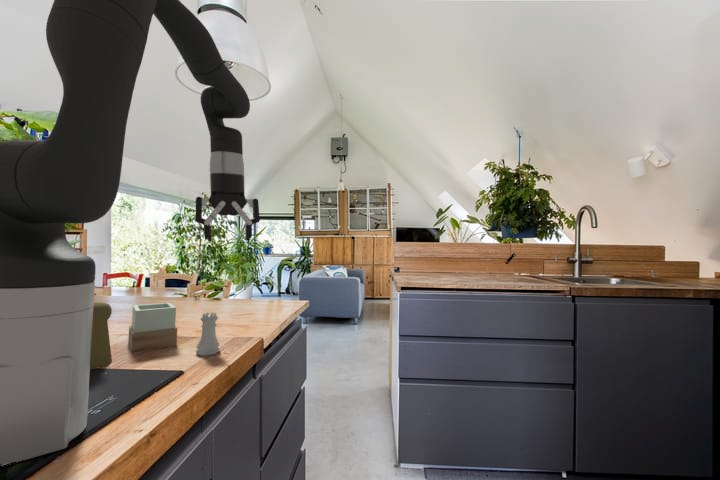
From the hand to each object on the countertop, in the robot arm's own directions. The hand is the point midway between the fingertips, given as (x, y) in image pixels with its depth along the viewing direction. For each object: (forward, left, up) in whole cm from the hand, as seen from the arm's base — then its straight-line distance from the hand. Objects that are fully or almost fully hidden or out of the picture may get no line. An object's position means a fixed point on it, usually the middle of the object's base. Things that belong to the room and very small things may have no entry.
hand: (229, 240), depth 76 cm
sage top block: (+4, +14, -20) cm, 25 cm away
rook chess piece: (-9, +6, -24) cm, 26 cm away
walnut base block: (+4, +14, -24) cm, 28 cm away
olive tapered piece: (-4, +25, -24) cm, 34 cm away
